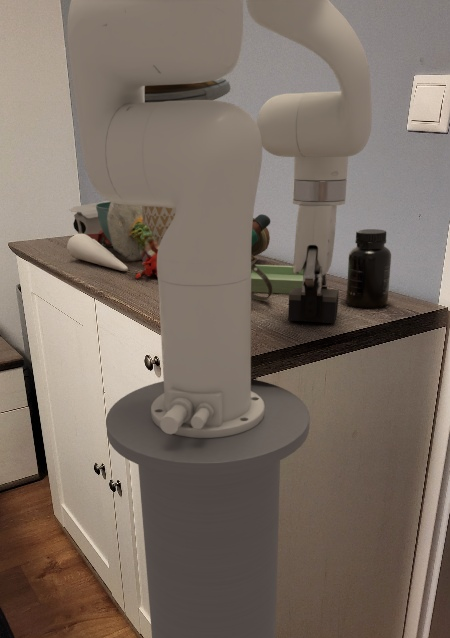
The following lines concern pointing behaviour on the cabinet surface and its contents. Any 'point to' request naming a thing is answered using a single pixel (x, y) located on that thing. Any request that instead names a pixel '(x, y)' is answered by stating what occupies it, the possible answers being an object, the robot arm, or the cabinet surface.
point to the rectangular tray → (276, 279)
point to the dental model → (100, 238)
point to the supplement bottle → (369, 270)
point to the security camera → (86, 219)
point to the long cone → (93, 252)
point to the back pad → (327, 306)
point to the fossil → (124, 229)
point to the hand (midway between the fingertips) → (313, 314)
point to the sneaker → (187, 91)
